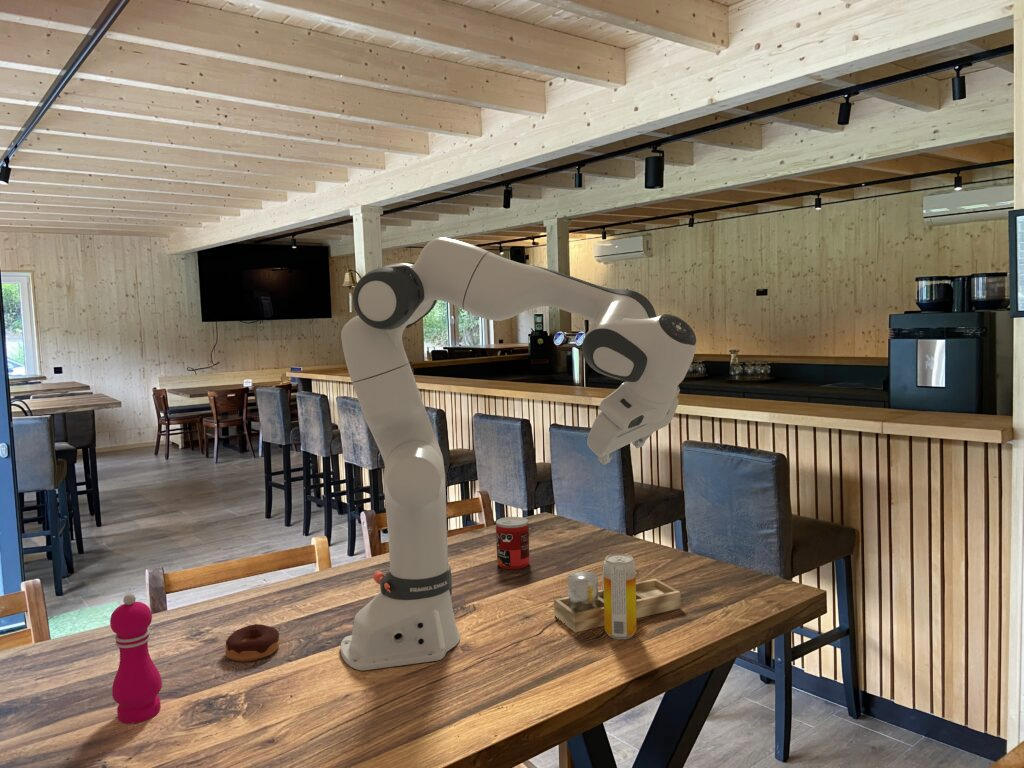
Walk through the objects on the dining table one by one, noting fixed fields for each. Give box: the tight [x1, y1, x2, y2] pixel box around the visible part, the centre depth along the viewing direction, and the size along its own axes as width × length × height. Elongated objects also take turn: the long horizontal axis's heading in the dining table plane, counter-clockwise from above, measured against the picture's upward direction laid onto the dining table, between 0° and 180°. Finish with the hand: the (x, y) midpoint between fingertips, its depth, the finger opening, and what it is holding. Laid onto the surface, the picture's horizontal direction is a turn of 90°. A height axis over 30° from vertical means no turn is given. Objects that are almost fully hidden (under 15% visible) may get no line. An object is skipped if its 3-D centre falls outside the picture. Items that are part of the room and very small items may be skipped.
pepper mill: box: [109, 593, 163, 724], centre depth 123 cm, size 7×7×20 cm
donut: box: [225, 623, 281, 663], centre depth 145 cm, size 10×10×4 cm
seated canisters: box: [567, 568, 604, 613], centre depth 156 cm, size 14×6×7 cm, turn 114°
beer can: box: [602, 553, 637, 640], centre depth 147 cm, size 6×6×15 cm
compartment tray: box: [553, 578, 682, 633], centre depth 158 cm, size 25×9×4 cm, turn 114°
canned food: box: [495, 516, 530, 570], centre depth 188 cm, size 8×8×11 cm
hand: (620, 453), depth 143 cm, fingers open, 8 cm apart
